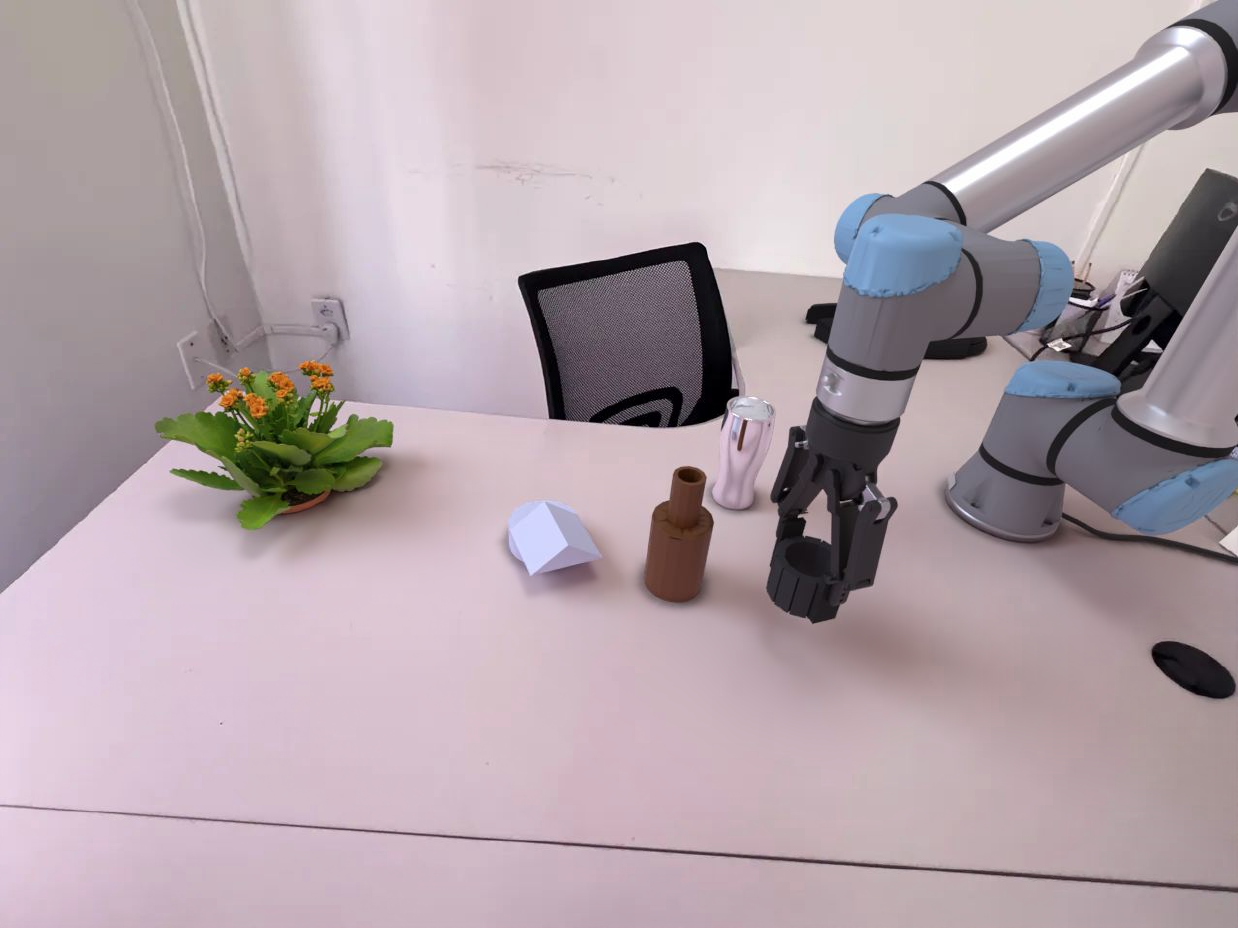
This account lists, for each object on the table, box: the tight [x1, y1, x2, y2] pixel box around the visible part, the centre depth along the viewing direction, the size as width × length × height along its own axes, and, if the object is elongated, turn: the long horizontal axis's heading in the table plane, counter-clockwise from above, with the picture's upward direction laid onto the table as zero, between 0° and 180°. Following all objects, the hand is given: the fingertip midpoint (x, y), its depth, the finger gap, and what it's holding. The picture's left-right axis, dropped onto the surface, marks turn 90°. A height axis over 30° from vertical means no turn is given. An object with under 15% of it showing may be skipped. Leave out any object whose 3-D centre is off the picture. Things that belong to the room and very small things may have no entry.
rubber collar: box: [765, 534, 831, 620], centre depth 68 cm, size 7×7×5 cm
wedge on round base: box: [507, 499, 604, 577], centre depth 81 cm, size 9×7×13 cm
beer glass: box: [711, 395, 777, 510], centre depth 91 cm, size 7×7×15 cm
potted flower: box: [153, 360, 395, 531], centre depth 83 cm, size 25×24×18 cm
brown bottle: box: [644, 465, 715, 603], centre depth 75 cm, size 7×7×16 cm
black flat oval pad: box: [804, 302, 988, 359], centre depth 149 cm, size 25×40×5 cm, turn 89°
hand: (801, 590), depth 70 cm, fingers closed on rubber collar, 7 cm apart
